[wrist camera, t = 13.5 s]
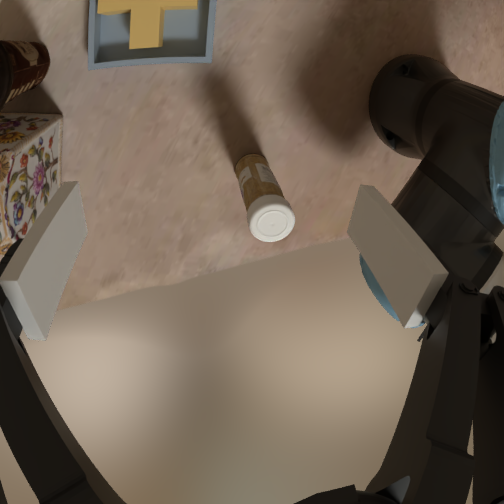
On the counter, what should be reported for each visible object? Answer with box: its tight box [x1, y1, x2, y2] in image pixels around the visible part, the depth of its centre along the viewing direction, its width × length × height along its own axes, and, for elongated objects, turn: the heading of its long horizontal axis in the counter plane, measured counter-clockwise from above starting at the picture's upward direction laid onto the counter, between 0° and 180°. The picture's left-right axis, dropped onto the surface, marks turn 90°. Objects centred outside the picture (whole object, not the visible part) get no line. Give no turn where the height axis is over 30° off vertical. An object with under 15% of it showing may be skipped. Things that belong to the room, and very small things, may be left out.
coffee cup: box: [0, 40, 50, 111], centre depth 22 cm, size 9×8×13 cm
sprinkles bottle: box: [235, 154, 295, 242], centre depth 36 cm, size 5×5×14 cm
